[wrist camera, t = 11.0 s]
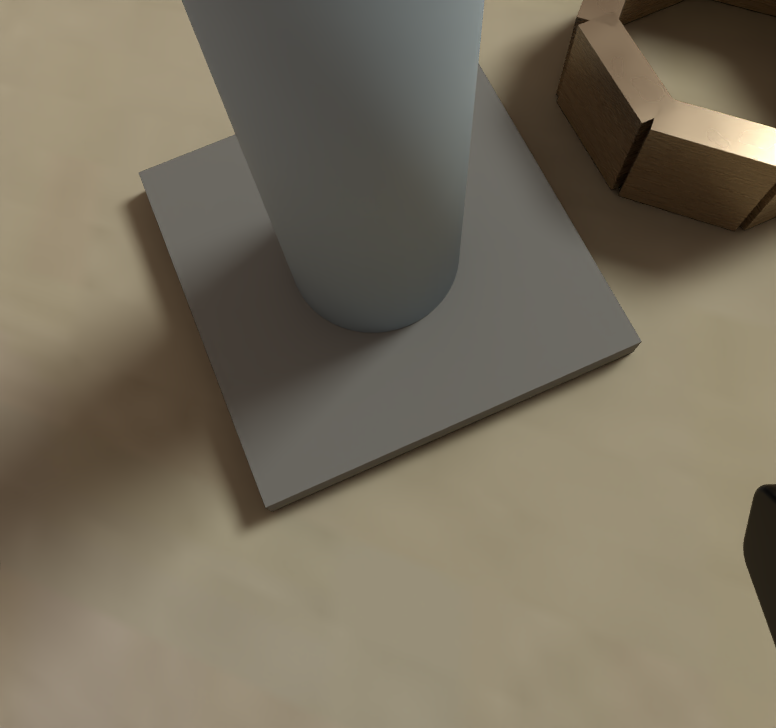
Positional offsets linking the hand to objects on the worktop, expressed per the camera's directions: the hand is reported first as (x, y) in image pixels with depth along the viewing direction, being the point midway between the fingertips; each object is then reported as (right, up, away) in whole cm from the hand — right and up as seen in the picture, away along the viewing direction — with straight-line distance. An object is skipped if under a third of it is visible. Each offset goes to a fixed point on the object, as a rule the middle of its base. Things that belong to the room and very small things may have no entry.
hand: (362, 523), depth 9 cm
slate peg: (0, +5, +11) cm, 12 cm away
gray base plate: (0, +4, +11) cm, 12 cm away
